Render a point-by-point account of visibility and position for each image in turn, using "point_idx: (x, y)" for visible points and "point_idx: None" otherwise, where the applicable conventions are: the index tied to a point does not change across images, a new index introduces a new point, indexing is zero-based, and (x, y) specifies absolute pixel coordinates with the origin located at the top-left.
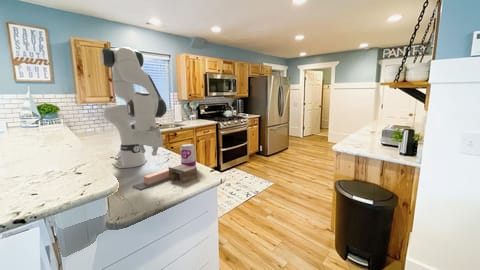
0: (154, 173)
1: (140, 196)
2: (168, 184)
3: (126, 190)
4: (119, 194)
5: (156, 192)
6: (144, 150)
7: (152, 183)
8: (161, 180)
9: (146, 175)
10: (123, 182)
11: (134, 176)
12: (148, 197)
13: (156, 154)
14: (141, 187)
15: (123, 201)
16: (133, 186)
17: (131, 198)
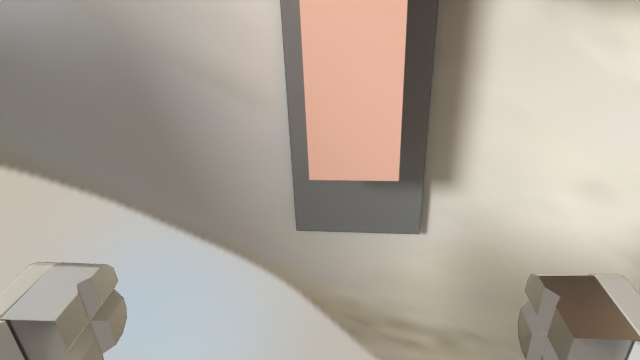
0: (333, 61)
1: (517, 283)
2: (556, 20)
3: (321, 273)
4: (347, 321)
5: (584, 194)
6: (87, 317)
7: (402, 117)
8: (416, 13)
9: (315, 150)
10: (130, 207)
11: (30, 79)
12: (592, 269)
13: (623, 288)
14: (396, 215)
15: (475, 357)
16: (311, 229)
17: (484, 320)
